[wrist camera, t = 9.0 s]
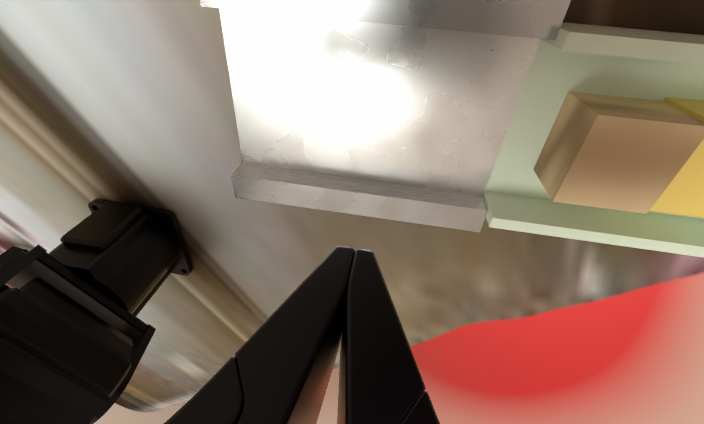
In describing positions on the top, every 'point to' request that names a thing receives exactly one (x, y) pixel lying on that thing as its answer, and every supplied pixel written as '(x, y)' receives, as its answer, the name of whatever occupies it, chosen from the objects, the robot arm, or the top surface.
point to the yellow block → (686, 172)
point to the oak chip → (615, 151)
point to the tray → (603, 79)
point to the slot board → (378, 100)
